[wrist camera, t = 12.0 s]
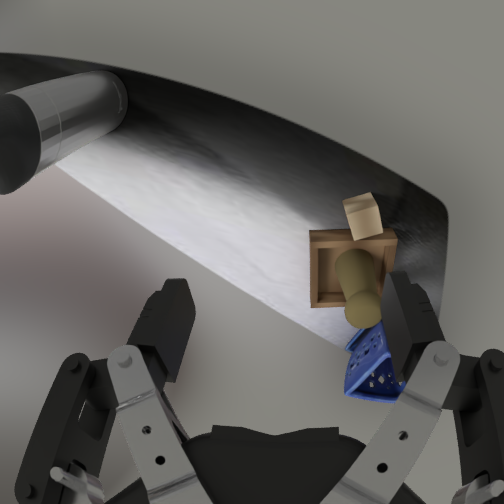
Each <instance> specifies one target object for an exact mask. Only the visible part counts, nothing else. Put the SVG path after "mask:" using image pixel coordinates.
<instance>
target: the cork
mask: <svg viewBox="0 0 504 504" xmlns="http://www.w3.org/2000/svg"><path fill="white" fill-rule="evenodd" d="M334 268H335V272H336V275H337V277H338V280H339V282H340V285H341V288H342V290H343V293H344V296H345V298H346V301H347V302H346V305H345V310H344V311H345V316H346V319H347V321H348V322H349V323H350V324H351V325H352V326H354V327H356V328H360V329H366V328H370V327H373V326H375V325H376V324H378V323H379V322H380V321H381V319H382V317H381V310H380V304H381V297H380V296H379V294H377V286H376V277H375V269H374V262H373V257H372V256H371V254H370V253H369V252H367V251H366V250H363V249H350V250H347V251H345V252H343V253H342V254H341V255H340V256H339V257H338V258H337V260H336V262H335V267H334Z"/></svg>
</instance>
